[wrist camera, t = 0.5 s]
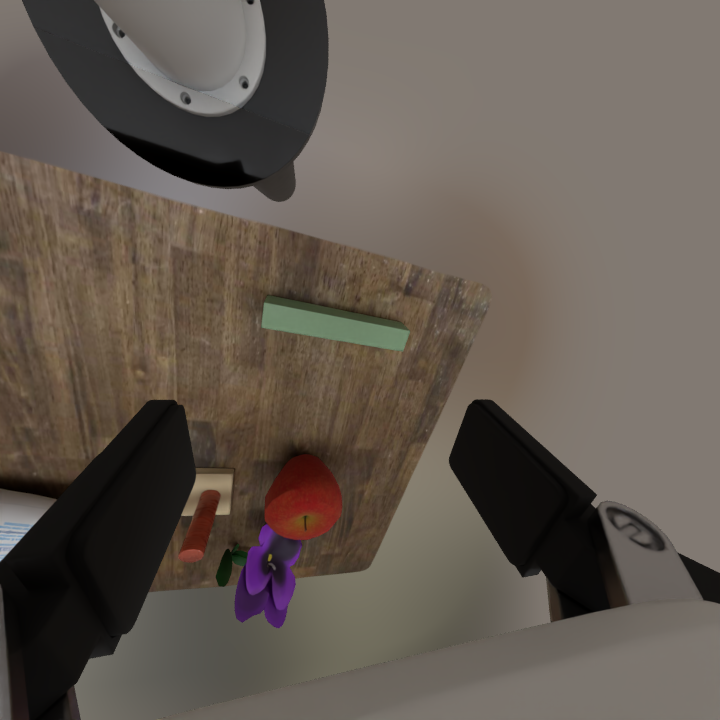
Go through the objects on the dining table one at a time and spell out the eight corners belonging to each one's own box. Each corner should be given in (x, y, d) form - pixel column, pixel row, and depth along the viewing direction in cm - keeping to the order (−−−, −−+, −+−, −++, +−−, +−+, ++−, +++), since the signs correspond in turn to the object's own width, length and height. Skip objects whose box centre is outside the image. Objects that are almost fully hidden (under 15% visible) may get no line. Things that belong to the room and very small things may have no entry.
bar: (267, 294, 32) (264, 302, 29) (401, 322, 37) (410, 331, 34) (264, 318, 33) (261, 327, 30) (394, 341, 38) (403, 351, 35)
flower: (270, 531, 60) (318, 538, 54) (229, 620, 49) (284, 641, 43) (229, 499, 53) (279, 502, 47) (169, 594, 41) (226, 615, 36)
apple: (256, 460, 43) (242, 537, 33) (309, 426, 42) (312, 494, 32) (299, 491, 48) (298, 565, 38) (347, 462, 47) (360, 530, 37)
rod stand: (98, 465, 38) (36, 539, 29) (234, 468, 43) (217, 532, 34) (107, 510, 42) (55, 588, 33) (230, 508, 47) (214, 574, 38)
